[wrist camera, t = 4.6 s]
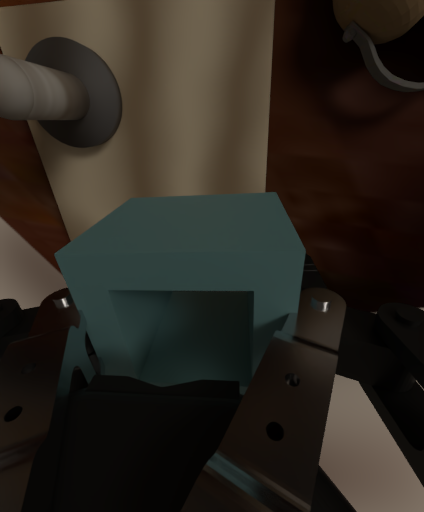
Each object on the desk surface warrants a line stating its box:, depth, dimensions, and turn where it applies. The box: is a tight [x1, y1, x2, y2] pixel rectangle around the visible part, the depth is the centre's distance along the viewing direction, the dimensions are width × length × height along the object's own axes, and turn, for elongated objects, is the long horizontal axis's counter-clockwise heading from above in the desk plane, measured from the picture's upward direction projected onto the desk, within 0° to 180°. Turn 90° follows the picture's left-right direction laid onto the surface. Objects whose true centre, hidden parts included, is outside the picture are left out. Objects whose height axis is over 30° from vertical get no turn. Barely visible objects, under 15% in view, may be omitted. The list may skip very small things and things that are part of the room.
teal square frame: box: [54, 192, 306, 395], centre depth 9 cm, size 6×6×5 cm
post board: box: [0, 0, 275, 241], centre depth 14 cm, size 16×15×8 cm
